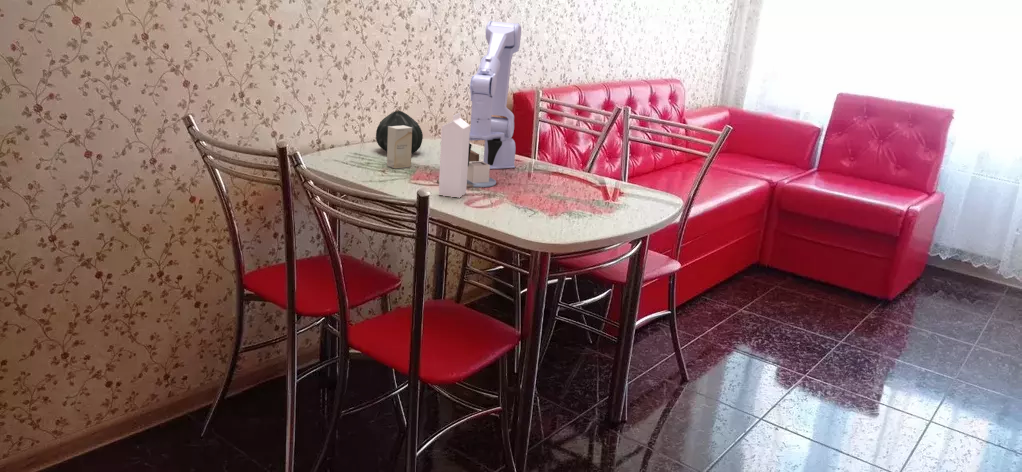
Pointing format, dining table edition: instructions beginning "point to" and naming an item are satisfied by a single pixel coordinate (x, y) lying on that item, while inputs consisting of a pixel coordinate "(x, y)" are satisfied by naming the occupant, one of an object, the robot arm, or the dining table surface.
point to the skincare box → (399, 146)
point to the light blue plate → (484, 183)
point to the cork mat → (467, 184)
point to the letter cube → (478, 172)
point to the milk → (454, 157)
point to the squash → (398, 120)
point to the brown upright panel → (473, 156)
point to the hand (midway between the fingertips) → (478, 165)
